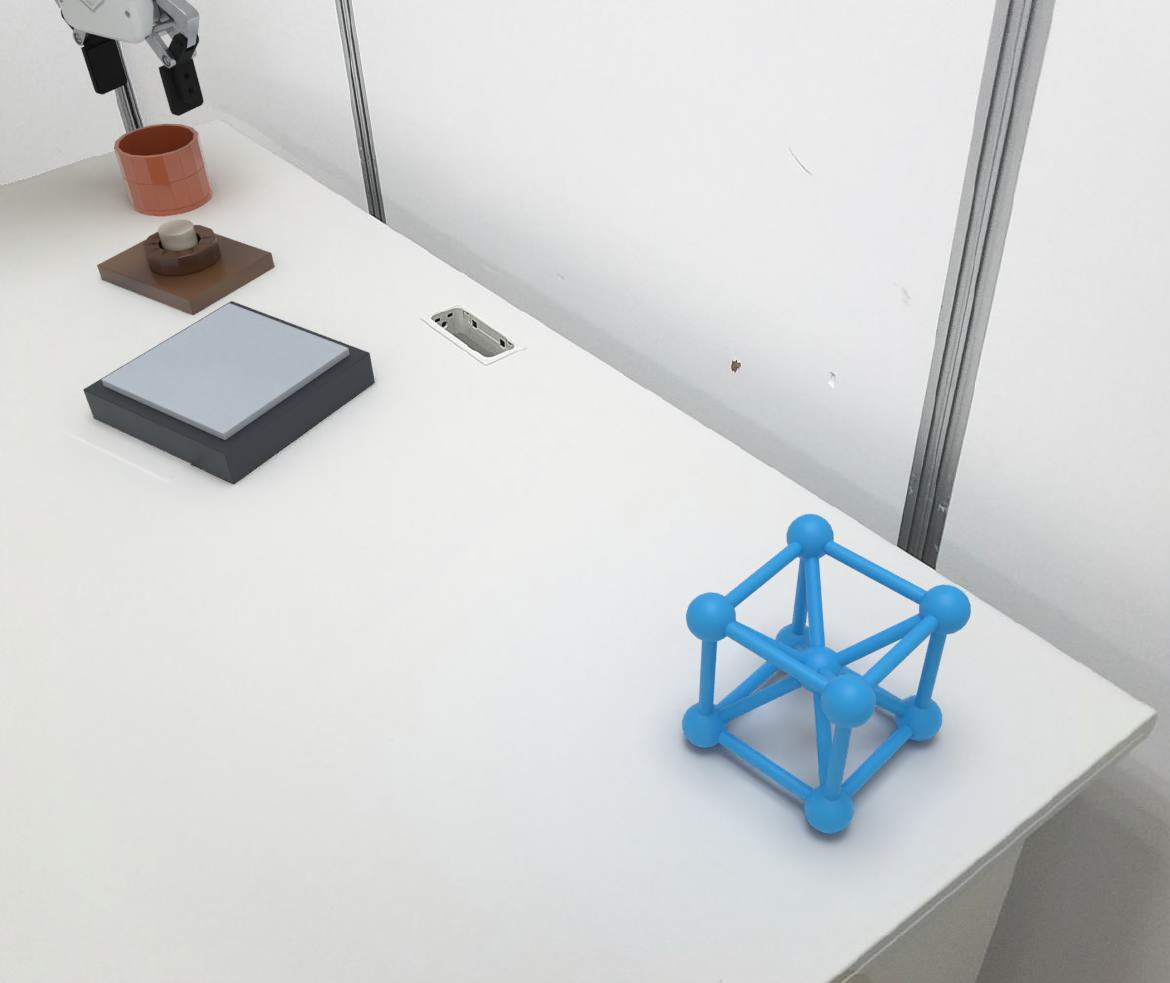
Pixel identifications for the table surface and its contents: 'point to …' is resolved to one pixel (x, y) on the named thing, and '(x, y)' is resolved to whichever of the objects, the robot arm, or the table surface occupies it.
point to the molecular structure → (822, 670)
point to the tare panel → (187, 270)
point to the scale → (230, 389)
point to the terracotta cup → (164, 169)
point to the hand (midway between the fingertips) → (149, 99)
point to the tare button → (177, 235)
